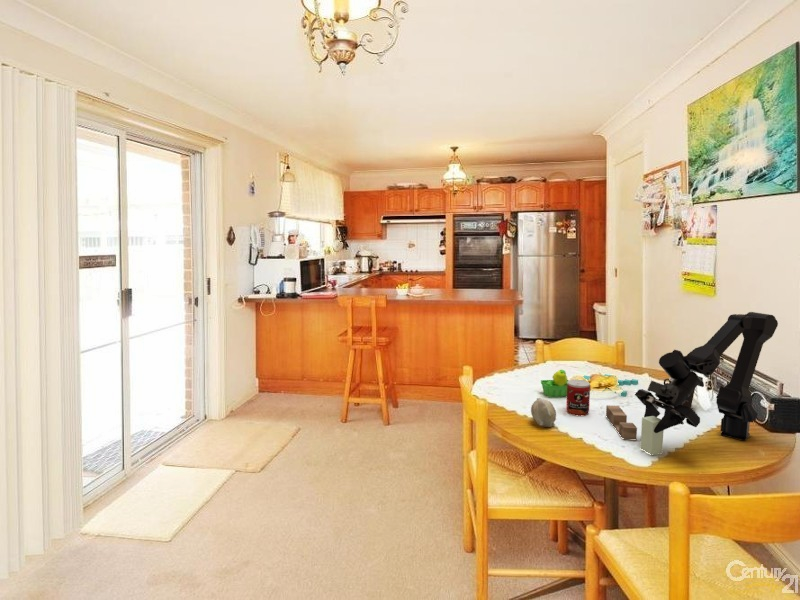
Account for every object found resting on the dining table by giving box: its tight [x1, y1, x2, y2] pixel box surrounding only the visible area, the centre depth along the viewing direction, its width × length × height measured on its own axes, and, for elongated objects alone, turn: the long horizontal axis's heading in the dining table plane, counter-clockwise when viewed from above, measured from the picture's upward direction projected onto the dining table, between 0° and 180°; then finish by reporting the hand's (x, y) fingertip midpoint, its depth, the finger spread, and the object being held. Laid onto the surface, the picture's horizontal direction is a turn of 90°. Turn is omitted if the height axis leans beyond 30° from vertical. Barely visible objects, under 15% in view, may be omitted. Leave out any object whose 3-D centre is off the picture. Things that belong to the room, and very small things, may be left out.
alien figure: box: [582, 374, 639, 398], centre depth 199 cm, size 20×2×20 cm
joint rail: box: [605, 405, 638, 440], centre depth 156 cm, size 19×4×4 cm, turn 171°
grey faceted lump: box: [530, 397, 557, 428], centre depth 160 cm, size 9×8×10 cm
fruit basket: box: [540, 369, 570, 398], centre depth 188 cm, size 11×9×11 cm
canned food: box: [566, 378, 591, 417], centre depth 170 cm, size 8×8×11 cm
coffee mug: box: [663, 377, 696, 408], centre depth 174 cm, size 12×9×10 cm
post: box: [640, 416, 665, 456], centre depth 139 cm, size 4×4×10 cm
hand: (648, 429), depth 138 cm, fingers closed on post, 4 cm apart
